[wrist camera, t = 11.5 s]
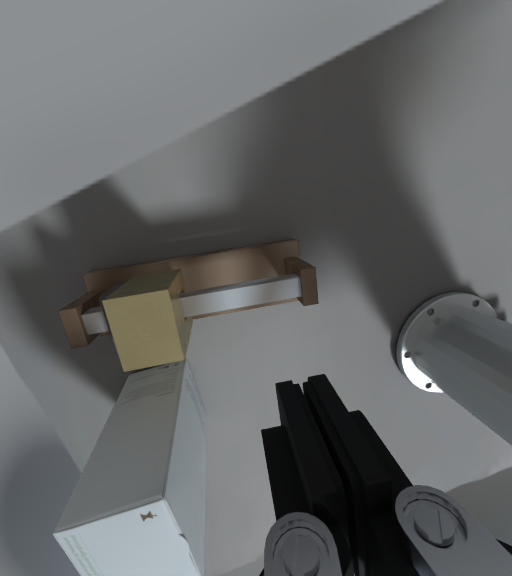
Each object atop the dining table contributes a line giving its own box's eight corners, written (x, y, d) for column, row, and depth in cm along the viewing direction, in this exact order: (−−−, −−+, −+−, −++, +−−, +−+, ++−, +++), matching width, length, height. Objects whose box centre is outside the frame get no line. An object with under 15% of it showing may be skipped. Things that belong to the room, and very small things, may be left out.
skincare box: (129, 372, 30) (41, 530, 15) (190, 355, 30) (164, 493, 16) (154, 434, 32) (100, 625, 17) (211, 418, 33) (206, 590, 18)
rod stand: (294, 239, 29) (323, 249, 21) (300, 295, 30) (329, 324, 22) (89, 271, 27) (36, 296, 19) (107, 329, 28) (65, 374, 21)
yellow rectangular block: (181, 268, 24) (167, 289, 18) (192, 321, 26) (184, 360, 19) (133, 276, 24) (101, 300, 17) (148, 329, 25) (123, 371, 19)
